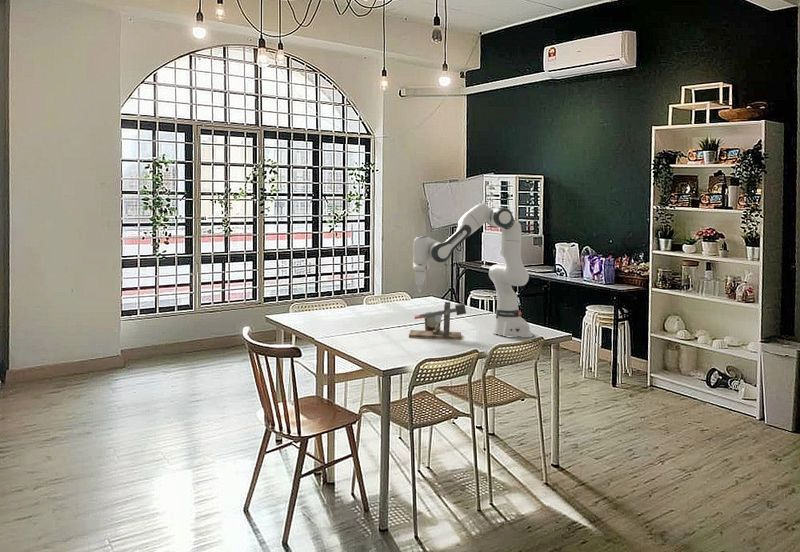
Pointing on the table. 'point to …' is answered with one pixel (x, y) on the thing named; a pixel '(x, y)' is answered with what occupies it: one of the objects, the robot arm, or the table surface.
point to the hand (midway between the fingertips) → (420, 290)
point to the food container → (430, 323)
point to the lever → (458, 309)
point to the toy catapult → (438, 329)
